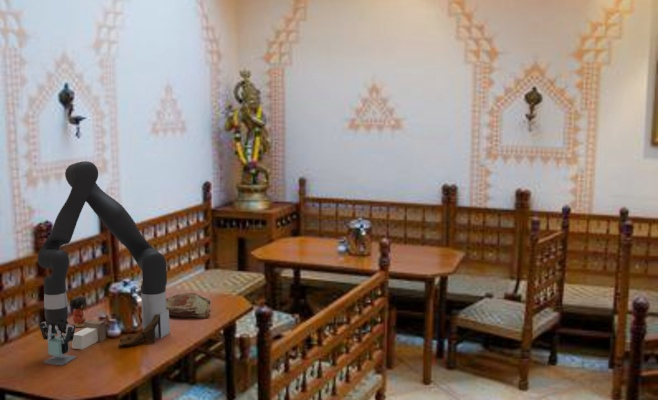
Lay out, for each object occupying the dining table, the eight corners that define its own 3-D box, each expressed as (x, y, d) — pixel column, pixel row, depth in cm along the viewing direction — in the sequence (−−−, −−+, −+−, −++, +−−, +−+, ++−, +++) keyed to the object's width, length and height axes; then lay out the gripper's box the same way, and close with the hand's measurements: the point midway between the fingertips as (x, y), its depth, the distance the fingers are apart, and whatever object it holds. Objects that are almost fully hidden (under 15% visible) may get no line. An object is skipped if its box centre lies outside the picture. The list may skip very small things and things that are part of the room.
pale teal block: (69, 351, 253) (68, 337, 252) (59, 356, 248) (58, 342, 248) (58, 349, 255) (57, 336, 254) (48, 354, 250) (47, 340, 249)
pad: (77, 357, 254) (77, 356, 254) (61, 365, 247) (61, 364, 247) (58, 354, 257) (58, 354, 257) (43, 362, 249) (42, 362, 249)
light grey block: (105, 339, 273) (104, 321, 272) (85, 349, 261) (84, 331, 260) (89, 336, 275) (88, 319, 274) (69, 347, 264) (67, 329, 263)
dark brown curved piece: (157, 315, 265) (116, 318, 263) (159, 343, 264) (117, 347, 262) (159, 314, 273) (119, 318, 271) (161, 342, 272) (120, 346, 270)
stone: (216, 301, 311) (214, 289, 310) (208, 319, 294) (206, 307, 293) (162, 303, 312) (161, 291, 311) (151, 321, 296) (149, 309, 294)
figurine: (84, 328, 285) (82, 299, 283) (70, 328, 285) (68, 299, 283) (89, 323, 291) (87, 294, 289) (76, 323, 291) (74, 294, 290)
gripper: (80, 304, 250) (82, 351, 253) (46, 300, 255) (49, 346, 257) (65, 310, 243) (68, 358, 246) (31, 306, 248) (34, 353, 250)
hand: (58, 351), depth 251 cm, fingers closed on pale teal block, 4 cm apart
